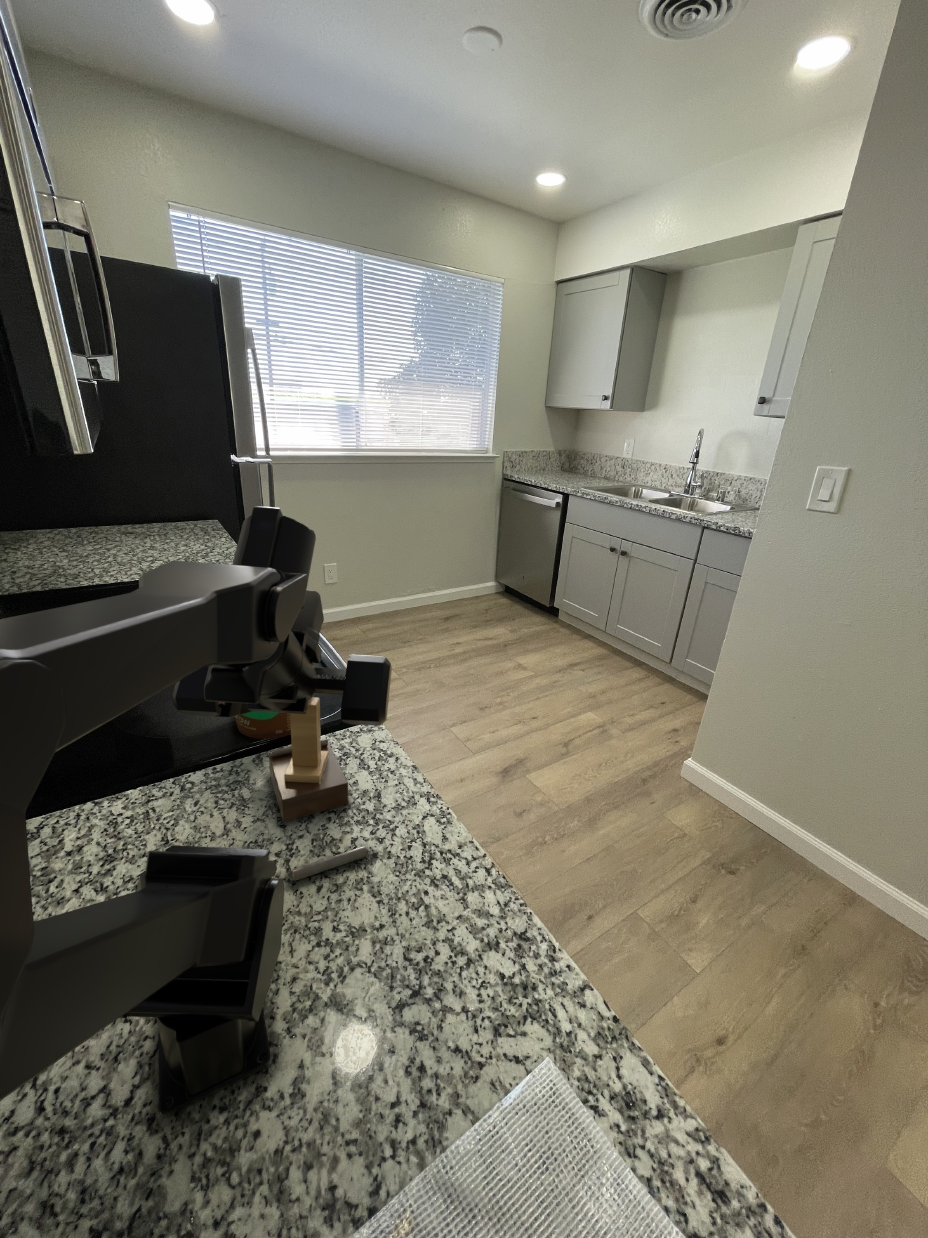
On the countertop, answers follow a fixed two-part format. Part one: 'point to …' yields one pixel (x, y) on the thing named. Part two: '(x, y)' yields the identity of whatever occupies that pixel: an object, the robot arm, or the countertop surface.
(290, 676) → the robot arm
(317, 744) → the wooden post stand
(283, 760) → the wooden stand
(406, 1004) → the countertop surface
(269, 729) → the food container
